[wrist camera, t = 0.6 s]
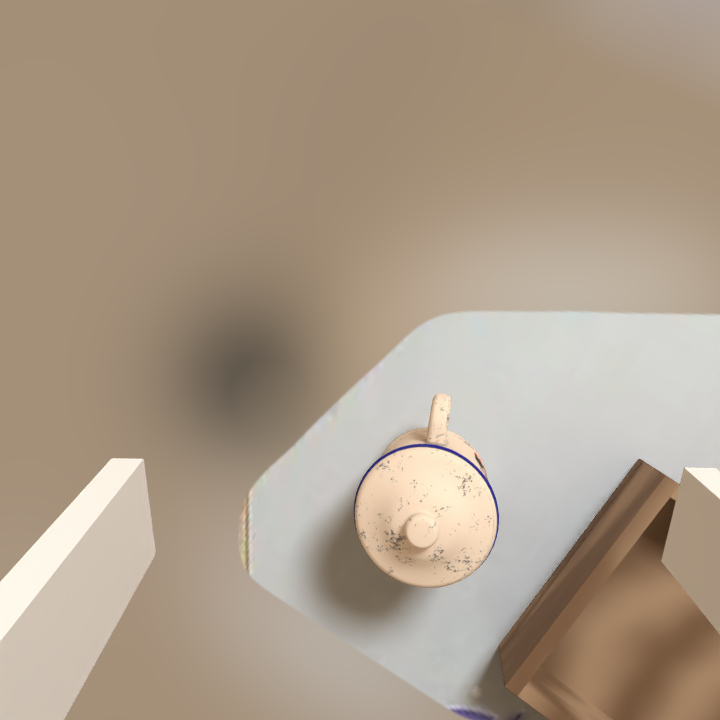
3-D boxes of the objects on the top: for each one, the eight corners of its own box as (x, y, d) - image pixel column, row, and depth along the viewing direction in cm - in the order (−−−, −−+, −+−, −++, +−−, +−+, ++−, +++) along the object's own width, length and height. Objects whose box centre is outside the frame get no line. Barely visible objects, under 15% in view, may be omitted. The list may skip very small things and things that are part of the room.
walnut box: (900, 627, 36) (971, 672, 31) (734, 817, 38) (776, 887, 33) (639, 458, 39) (665, 475, 34) (499, 645, 41) (504, 687, 36)
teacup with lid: (480, 548, 41) (490, 628, 29) (367, 525, 42) (333, 592, 31) (504, 397, 40) (523, 418, 29) (387, 379, 42) (361, 392, 30)
